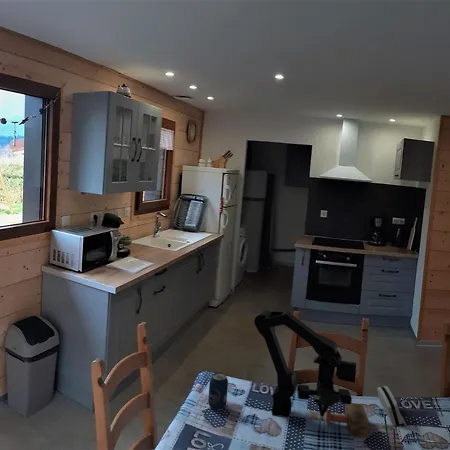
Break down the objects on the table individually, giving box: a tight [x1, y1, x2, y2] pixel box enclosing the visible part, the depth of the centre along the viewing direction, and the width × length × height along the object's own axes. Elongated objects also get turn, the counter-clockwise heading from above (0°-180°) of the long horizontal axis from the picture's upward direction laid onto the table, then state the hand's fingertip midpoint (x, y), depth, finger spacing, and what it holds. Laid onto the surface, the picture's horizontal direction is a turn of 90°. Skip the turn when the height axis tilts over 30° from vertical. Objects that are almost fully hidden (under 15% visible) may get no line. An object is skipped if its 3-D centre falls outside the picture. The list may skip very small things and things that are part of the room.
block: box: [344, 402, 370, 439], centre depth 160 cm, size 6×12×6 cm, turn 175°
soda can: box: [207, 372, 229, 410], centre depth 167 cm, size 7×7×12 cm
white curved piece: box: [376, 385, 407, 427], centre depth 171 cm, size 17×5×10 cm, turn 177°
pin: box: [325, 410, 349, 425], centre depth 161 cm, size 10×4×4 cm, turn 85°
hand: (321, 415), depth 161 cm, fingers closed
